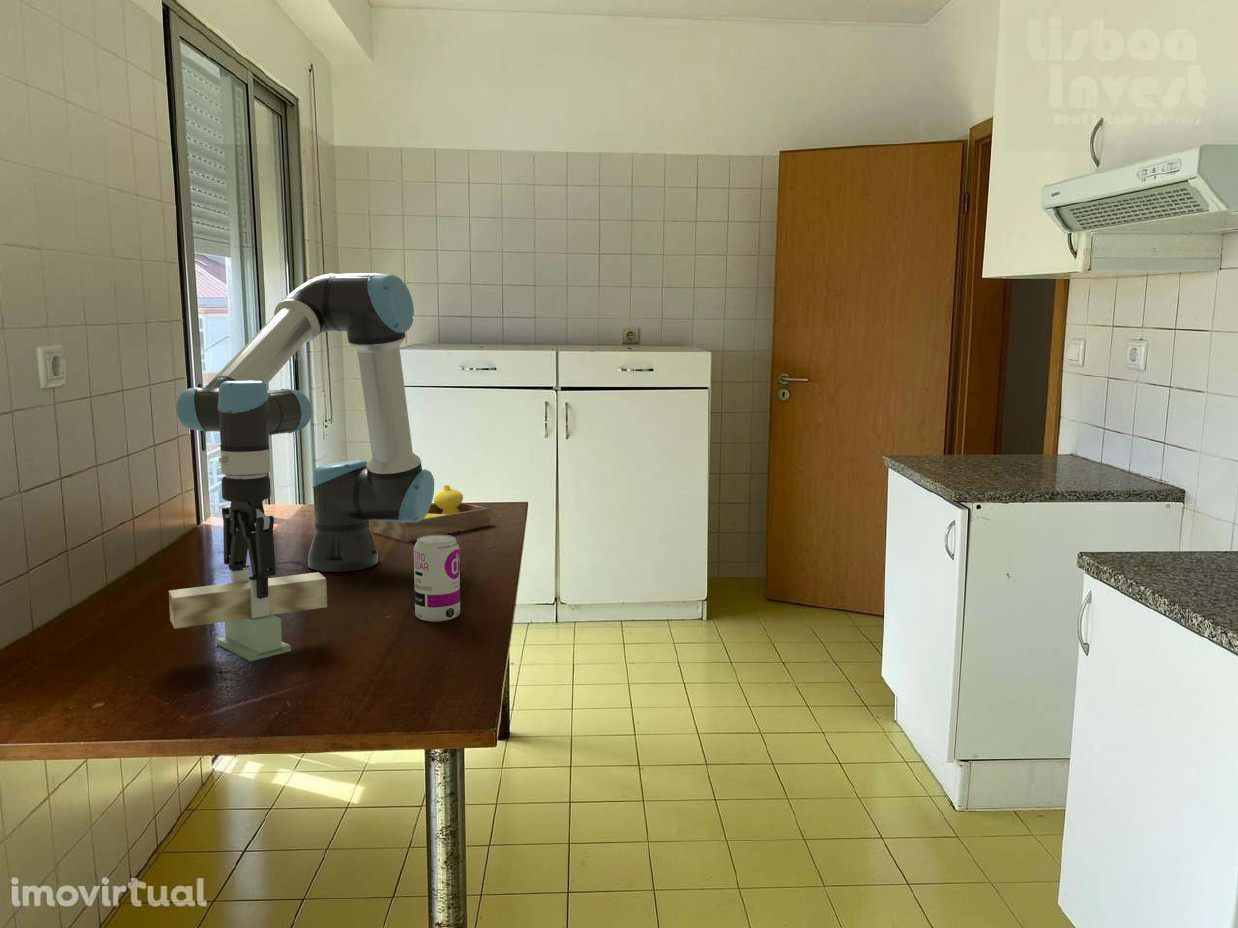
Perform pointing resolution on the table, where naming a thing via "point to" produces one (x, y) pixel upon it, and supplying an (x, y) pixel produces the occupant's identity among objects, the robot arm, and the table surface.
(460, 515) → the tray
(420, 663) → the table surface
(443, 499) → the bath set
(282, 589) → the beam
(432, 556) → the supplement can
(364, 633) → the table surface
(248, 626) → the stepped block
